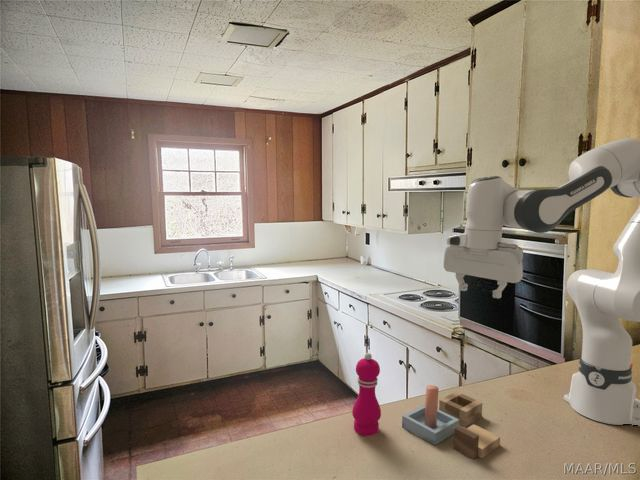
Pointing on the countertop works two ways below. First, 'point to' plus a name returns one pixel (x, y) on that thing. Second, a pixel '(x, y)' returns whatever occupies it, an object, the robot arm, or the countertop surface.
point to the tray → (433, 435)
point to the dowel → (431, 406)
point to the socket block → (461, 407)
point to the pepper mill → (367, 397)
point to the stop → (466, 442)
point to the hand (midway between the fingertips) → (479, 293)
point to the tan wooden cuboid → (485, 440)
